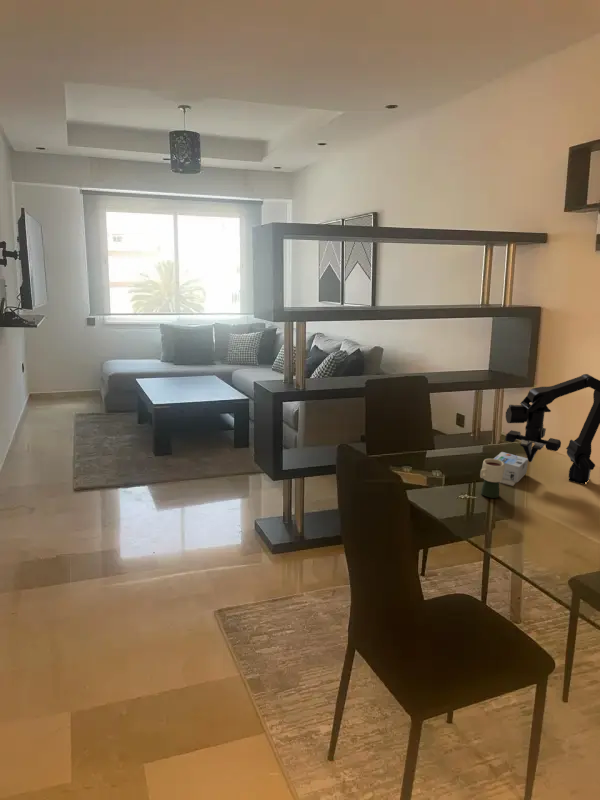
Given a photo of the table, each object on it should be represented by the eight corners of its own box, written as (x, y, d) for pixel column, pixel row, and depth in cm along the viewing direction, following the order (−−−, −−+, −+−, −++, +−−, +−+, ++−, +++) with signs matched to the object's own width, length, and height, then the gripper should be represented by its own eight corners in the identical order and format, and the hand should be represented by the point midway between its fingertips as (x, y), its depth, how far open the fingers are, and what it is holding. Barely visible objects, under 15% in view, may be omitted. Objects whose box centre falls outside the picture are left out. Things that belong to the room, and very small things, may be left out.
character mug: (494, 488, 221) (497, 456, 217) (508, 496, 215) (512, 463, 211) (471, 494, 216) (474, 461, 212) (485, 502, 210) (489, 468, 206)
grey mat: (525, 471, 236) (525, 470, 235) (513, 485, 223) (513, 484, 223) (495, 464, 242) (495, 463, 242) (481, 477, 230) (481, 476, 230)
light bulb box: (519, 466, 223) (491, 459, 229) (517, 483, 225) (489, 475, 231) (528, 458, 231) (501, 451, 237) (526, 473, 233) (499, 466, 239)
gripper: (567, 421, 222) (561, 460, 226) (516, 412, 232) (512, 449, 237) (559, 430, 213) (554, 470, 218) (506, 420, 224) (502, 458, 228)
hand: (530, 461), depth 225 cm, fingers closed
